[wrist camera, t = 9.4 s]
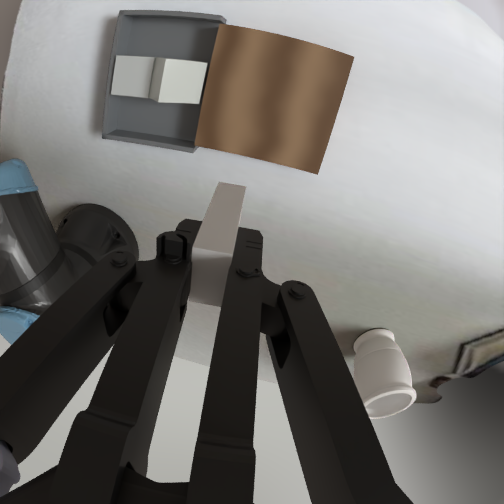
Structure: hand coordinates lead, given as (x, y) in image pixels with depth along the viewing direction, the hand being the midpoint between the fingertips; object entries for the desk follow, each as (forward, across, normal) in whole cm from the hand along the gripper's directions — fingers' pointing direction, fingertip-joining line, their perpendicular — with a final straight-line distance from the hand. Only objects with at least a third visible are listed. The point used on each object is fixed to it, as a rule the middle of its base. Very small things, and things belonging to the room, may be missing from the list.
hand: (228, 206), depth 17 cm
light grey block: (+19, -15, +5) cm, 25 cm away
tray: (+23, -12, +5) cm, 27 cm away
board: (+23, +2, +4) cm, 24 cm away
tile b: (+21, -10, +5) cm, 24 cm away
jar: (+23, +30, -34) cm, 51 cm away
